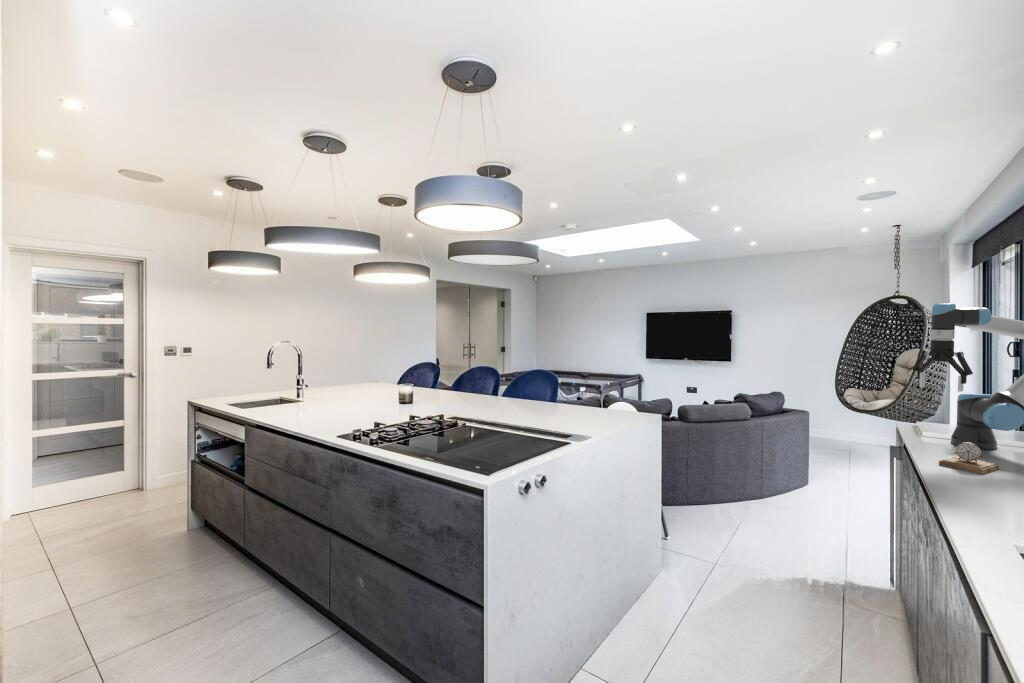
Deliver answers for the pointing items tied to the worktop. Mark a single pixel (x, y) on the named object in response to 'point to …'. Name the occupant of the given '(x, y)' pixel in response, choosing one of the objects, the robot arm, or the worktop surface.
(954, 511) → the worktop surface
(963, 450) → the game die
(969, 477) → the worktop surface
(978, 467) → the plate
